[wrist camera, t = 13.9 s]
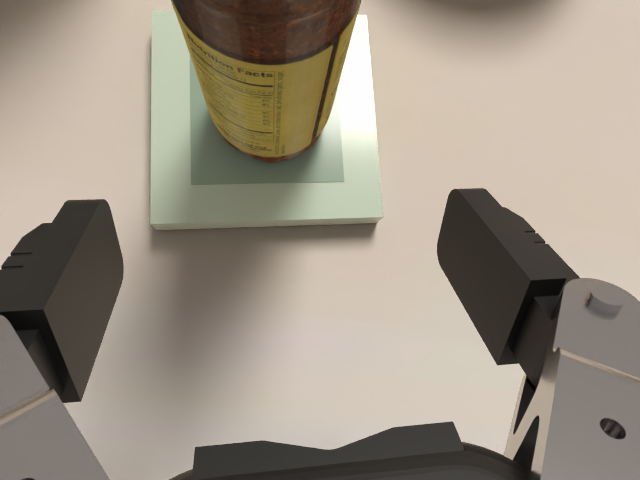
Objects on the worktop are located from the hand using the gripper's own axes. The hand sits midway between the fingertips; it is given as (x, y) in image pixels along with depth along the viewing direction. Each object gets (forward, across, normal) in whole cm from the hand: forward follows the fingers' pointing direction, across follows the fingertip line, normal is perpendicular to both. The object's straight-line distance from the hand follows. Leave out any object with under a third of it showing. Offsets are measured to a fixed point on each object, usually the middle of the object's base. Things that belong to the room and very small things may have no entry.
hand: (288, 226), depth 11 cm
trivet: (+16, 0, -3) cm, 16 cm away
